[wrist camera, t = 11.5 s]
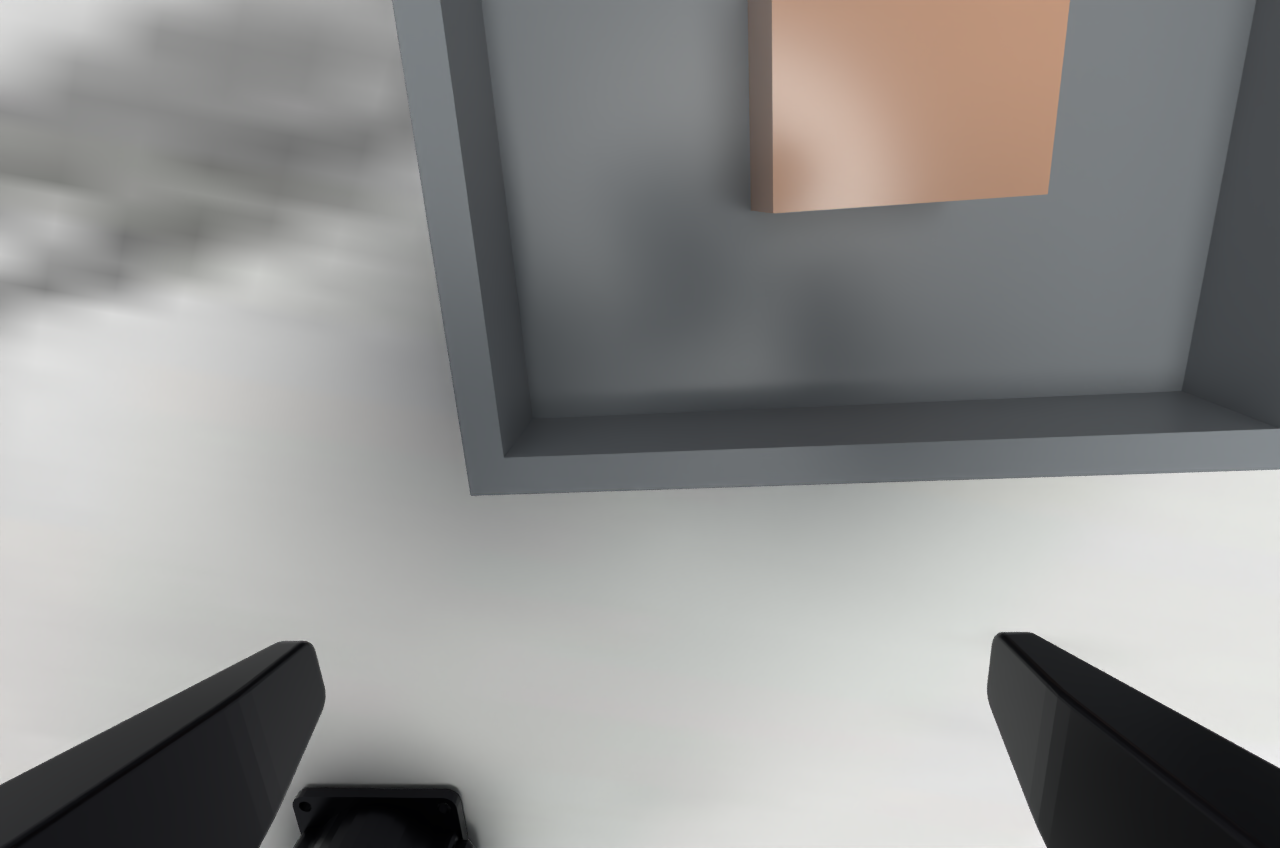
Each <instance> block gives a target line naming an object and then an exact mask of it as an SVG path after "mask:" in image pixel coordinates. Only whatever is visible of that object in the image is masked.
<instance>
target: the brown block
mask: <svg viewBox="0 0 1280 848" xmlns="http://www.w3.org/2000/svg"><path fill="white" fill-rule="evenodd" d="M1069 5H1070V0H748V63H749V126H750V189H751V211H758V212H766V213H786V212H801V211H815V210H830V209H844V208H858V207H873V206H887V205H902V204H916V203H930V202H945V201H959V200H974V199H988V198H1002V197H1017V196H1031V195H1046V194H1048V188H1049V179H1050V171H1051V162H1052V153H1053V145H1054V136H1055V127H1056V118H1057V110H1058V101H1059V92H1060V83H1061V75H1062V66H1063V57H1064V49H1065V40H1066V31H1067V22H1068V14H1069Z"/></svg>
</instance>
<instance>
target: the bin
mask: <svg viewBox="0 0 1280 848" xmlns="http://www.w3.org/2000/svg"><path fill="white" fill-rule="evenodd" d="M392 2H393V9H394V15H395V21H396V28H397V34H398V40H399V46H400V53H401V59H402V65H403V72H404V78H405V84H406V91H407V97H408V103H409V109H410V116H411V122H412V128H413V135H414V141H415V147H416V154H417V160H418V166H419V172H420V179H421V185H422V191H423V198H424V204H425V210H426V217H427V223H428V229H429V235H430V242H431V248H432V254H433V261H434V267H435V273H436V280H437V286H438V292H439V298H440V305H441V311H442V317H443V324H444V330H445V336H446V343H447V349H448V355H449V361H450V368H451V374H452V380H453V387H454V393H455V399H456V406H457V412H458V418H459V424H460V431H461V437H462V443H463V450H464V456H465V462H466V469H467V475H468V481H469V487H470V494H471V496H476V495H507V494H537V493H568V492H599V491H630V490H661V489H692V488H722V487H753V486H784V485H815V484H846V483H877V482H907V481H938V480H969V479H1000V478H1031V477H1062V476H1092V475H1123V474H1154V473H1185V472H1216V471H1247V470H1277V469H1280V0H1070V5H1069V14H1068V22H1067V31H1066V40H1065V49H1064V57H1063V66H1062V75H1061V83H1060V92H1059V101H1058V110H1057V118H1056V127H1055V136H1054V145H1053V153H1052V162H1051V171H1050V179H1049V188H1048V194H1046V195H1031V196H1017V197H1002V198H988V199H974V200H959V201H945V202H930V203H916V204H902V205H887V206H873V207H858V208H844V209H830V210H815V211H801V212H786V213H766V212H758V211H751V189H750V126H749V63H748V0H392Z"/></svg>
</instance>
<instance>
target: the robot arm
mask: <svg viewBox="0 0 1280 848" xmlns="http://www.w3.org/2000/svg"><path fill="white" fill-rule="evenodd" d="M987 695H988V701H989V705H990V708H991V710H992V713H993V716H994V718H995V721H996V723H997V726H998V729H999V731H1000V734H1001V736H1002V739H1003V741H1004V744H1005V747H1006V749H1007V752H1008V754H1009V757H1010V760H1011V762H1012V765H1013V767H1014V770H1015V772H1016V775H1017V778H1018V780H1019V783H1020V785H1021V788H1022V791H1023V793H1024V796H1025V798H1026V801H1027V804H1028V806H1029V809H1030V811H1031V813H1032V816H1033V818H1034V821H1035V823H1036V825H1037V828H1038V830H1039V832H1040V834H1041V836H1042V838H1043V840H1044V842H1045V844H1046V846H1047V848H1280V768H1278V767H1276V766H1275V765H1273V764H1271V763H1269V762H1267V761H1266V760H1264V759H1262V758H1260V757H1258V756H1256V755H1255V754H1253V753H1251V752H1249V751H1247V750H1245V749H1244V748H1242V747H1240V746H1238V745H1236V744H1234V743H1233V742H1231V741H1229V740H1227V739H1225V738H1224V737H1222V736H1220V735H1218V734H1216V733H1214V732H1213V731H1211V730H1209V729H1207V728H1205V727H1203V726H1202V725H1200V724H1198V723H1196V722H1194V721H1192V720H1191V719H1189V718H1187V717H1185V716H1183V715H1182V714H1180V713H1178V712H1176V711H1174V710H1172V709H1171V708H1169V707H1167V706H1165V705H1163V704H1161V703H1160V702H1158V701H1156V700H1154V699H1152V698H1150V697H1149V696H1147V695H1145V694H1143V693H1141V692H1140V691H1138V690H1136V689H1134V688H1132V687H1130V686H1129V685H1127V684H1125V683H1123V682H1121V681H1119V680H1118V679H1116V678H1114V677H1112V676H1110V675H1108V674H1107V673H1105V672H1103V671H1101V670H1099V669H1098V668H1096V667H1094V666H1092V665H1090V664H1088V663H1087V662H1085V661H1083V660H1081V659H1079V658H1077V657H1076V656H1074V655H1072V654H1070V653H1068V652H1066V651H1065V650H1063V649H1061V648H1059V647H1057V646H1056V645H1054V644H1052V643H1050V642H1048V641H1046V640H1045V639H1043V638H1041V637H1039V636H1037V635H1035V634H1033V633H1030V632H1001V633H998V634H997V635H996V636H995V637H994V639H993V642H992V648H991V656H990V665H989V674H988V683H987ZM324 703H325V686H324V683H323V679H322V675H321V671H320V667H319V663H318V659H317V655H316V651H315V649H314V647H313V645H312V644H311V643H309V642H307V641H281V642H277V643H275V644H273V645H271V646H269V647H267V648H265V649H263V650H261V651H259V652H257V653H255V654H253V655H252V656H250V657H248V658H246V659H244V660H242V661H240V662H238V663H236V664H234V665H232V666H230V667H228V668H226V669H224V670H222V671H220V672H219V673H217V674H215V675H213V676H211V677H209V678H207V679H205V680H203V681H201V682H199V683H197V684H195V685H193V686H191V687H189V688H187V689H186V690H184V691H182V692H180V693H178V694H176V695H174V696H172V697H170V698H168V699H166V700H164V701H162V702H160V703H158V704H156V705H154V706H153V707H151V708H149V709H147V710H145V711H143V712H141V713H139V714H137V715H135V716H133V717H131V718H129V719H127V720H125V721H123V722H121V723H120V724H118V725H116V726H114V727H112V728H110V729H108V730H106V731H104V732H102V733H100V734H98V735H96V736H94V737H92V738H90V739H88V740H87V741H85V742H83V743H81V744H79V745H77V746H75V747H73V748H71V749H69V750H67V751H65V752H63V753H61V754H59V755H57V756H55V757H54V758H52V759H50V760H48V761H46V762H44V763H42V764H40V765H38V766H36V767H34V768H32V769H30V770H28V771H26V772H24V773H22V774H21V775H19V776H17V777H15V778H13V779H11V780H9V781H7V782H5V783H3V784H1V785H0V848H259V847H260V845H261V843H262V841H263V839H264V838H265V836H266V834H267V832H268V830H269V828H270V826H271V824H272V822H273V820H274V818H275V816H276V814H277V812H278V810H279V808H280V806H281V804H282V801H283V799H284V797H285V795H286V793H287V790H288V788H289V786H290V783H291V781H292V779H293V777H294V774H295V772H296V770H297V767H298V765H299V763H300V761H301V758H302V756H303V754H304V751H305V749H306V747H307V745H308V742H309V740H310V738H311V736H312V733H313V731H314V729H315V726H316V724H317V722H318V720H319V717H320V715H321V713H322V710H323V707H324ZM445 803H446V804H445ZM293 808H294V812H295V815H296V819H297V822H298V825H299V829H300V832H301V836H300V838H299V839H298V841H297V843H296V844H295V846H294V848H474V846H473V844H472V843H471V841H470V840H468V835H467V830H466V825H465V820H464V815H463V809H462V804H461V799H460V797H459V795H458V794H457V793H456V792H454V791H452V790H449V789H380V788H305V789H302V790H301V791H300V792H299V793H298V795H297V797H296V798H295V800H294V801H293Z"/></svg>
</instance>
